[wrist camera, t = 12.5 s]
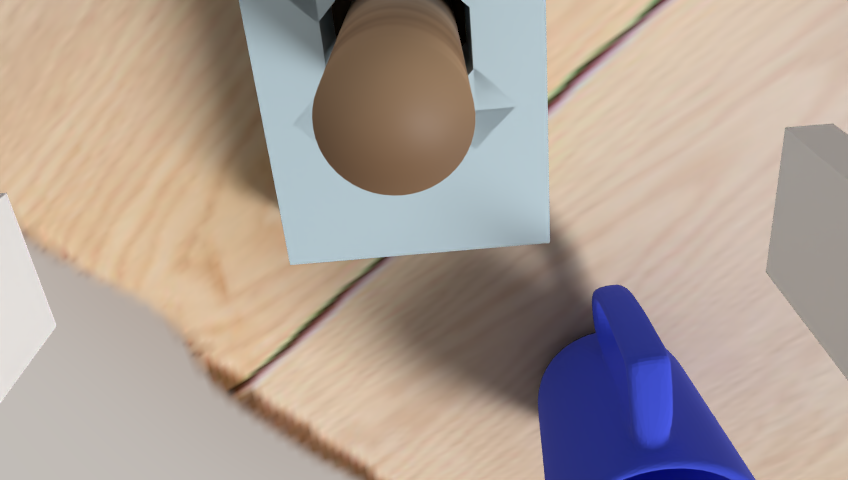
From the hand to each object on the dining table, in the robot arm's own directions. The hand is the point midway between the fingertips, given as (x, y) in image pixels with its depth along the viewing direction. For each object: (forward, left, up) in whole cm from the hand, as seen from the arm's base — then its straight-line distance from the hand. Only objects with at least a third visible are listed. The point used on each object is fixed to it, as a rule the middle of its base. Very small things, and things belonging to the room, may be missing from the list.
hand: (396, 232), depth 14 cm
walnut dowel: (0, 0, -18) cm, 18 cm away
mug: (+16, +8, -19) cm, 26 cm away
